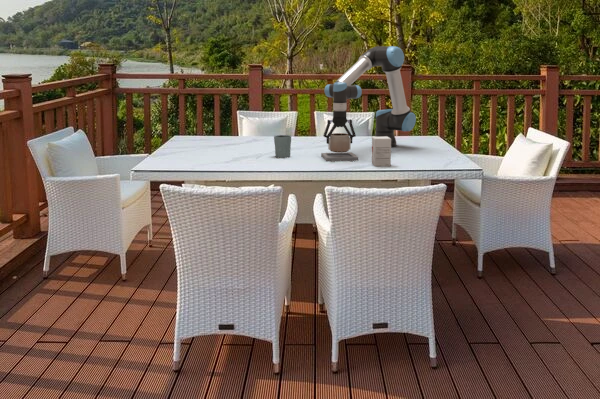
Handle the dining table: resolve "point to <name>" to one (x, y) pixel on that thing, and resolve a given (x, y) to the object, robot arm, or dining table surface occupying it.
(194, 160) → the dining table surface
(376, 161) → the supplement box
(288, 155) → the grey cup
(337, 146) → the planter
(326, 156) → the grey tray
